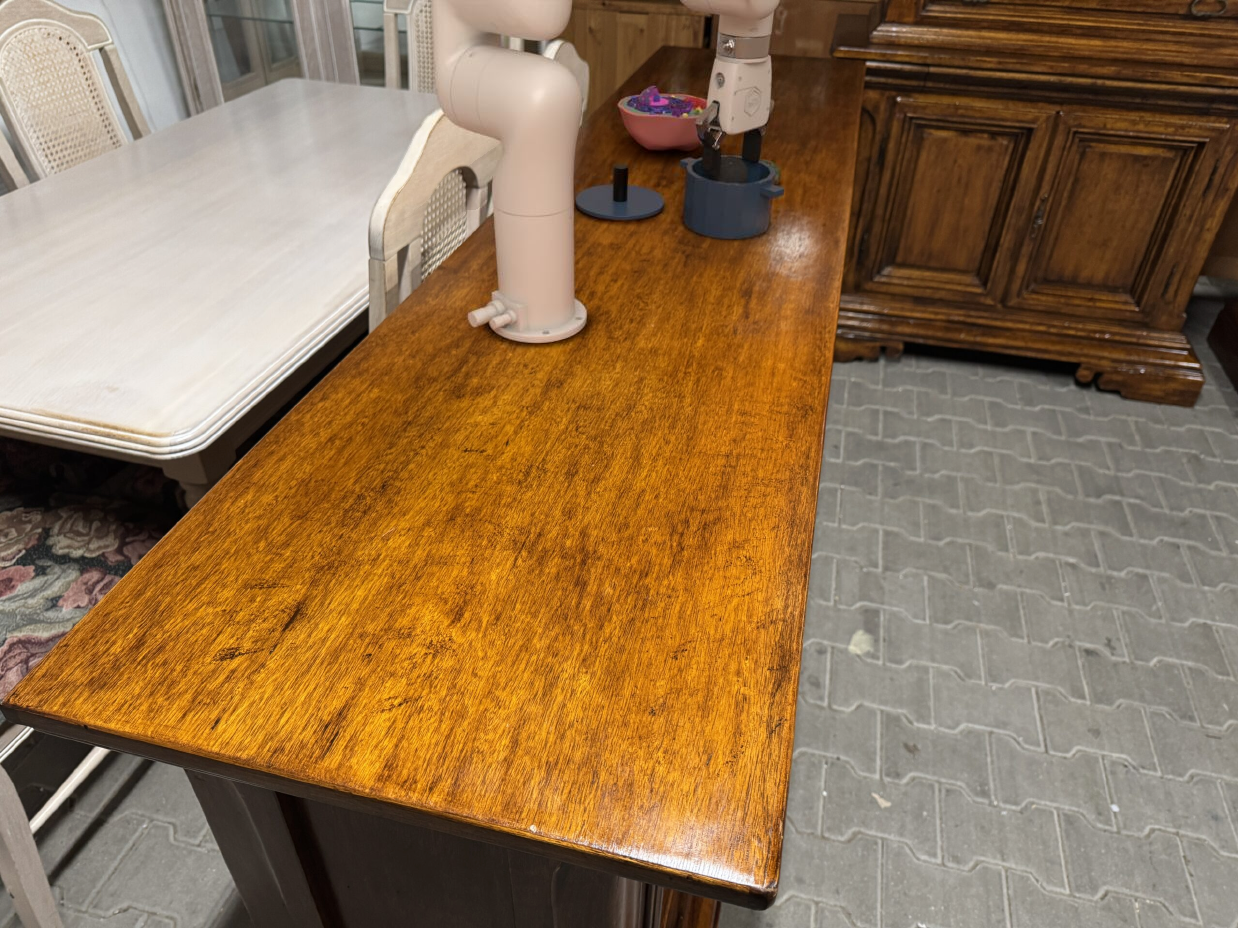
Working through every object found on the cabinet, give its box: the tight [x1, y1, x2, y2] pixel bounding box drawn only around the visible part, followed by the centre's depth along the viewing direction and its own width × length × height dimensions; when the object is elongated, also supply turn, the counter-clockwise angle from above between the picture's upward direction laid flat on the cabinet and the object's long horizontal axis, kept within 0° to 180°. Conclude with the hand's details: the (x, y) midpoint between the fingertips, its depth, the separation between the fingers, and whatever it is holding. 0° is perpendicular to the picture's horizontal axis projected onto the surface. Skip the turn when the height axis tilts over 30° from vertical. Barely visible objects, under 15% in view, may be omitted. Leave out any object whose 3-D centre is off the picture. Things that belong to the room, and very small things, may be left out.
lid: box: [575, 163, 665, 221], centre depth 143 cm, size 15×15×7 cm
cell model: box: [617, 85, 707, 152], centre depth 166 cm, size 17×20×11 cm
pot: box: [679, 154, 785, 240], centre depth 138 cm, size 14×19×8 cm
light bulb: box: [712, 155, 748, 183], centre depth 137 cm, size 6×6×10 cm
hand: (730, 166), depth 135 cm, fingers open, 9 cm apart
